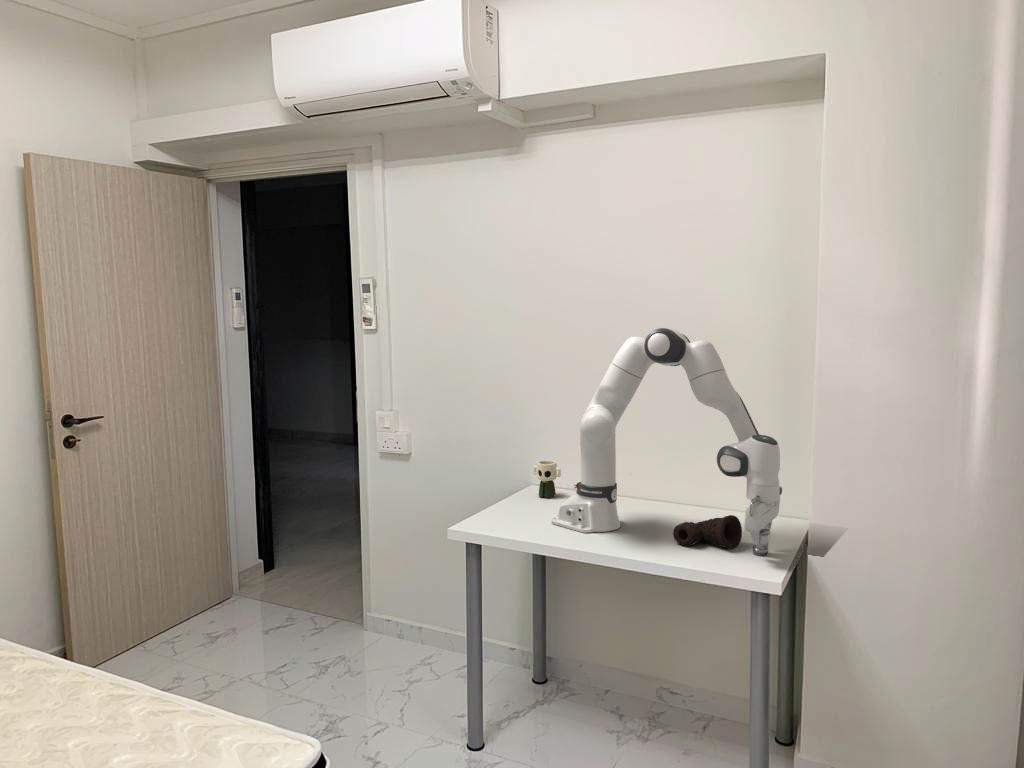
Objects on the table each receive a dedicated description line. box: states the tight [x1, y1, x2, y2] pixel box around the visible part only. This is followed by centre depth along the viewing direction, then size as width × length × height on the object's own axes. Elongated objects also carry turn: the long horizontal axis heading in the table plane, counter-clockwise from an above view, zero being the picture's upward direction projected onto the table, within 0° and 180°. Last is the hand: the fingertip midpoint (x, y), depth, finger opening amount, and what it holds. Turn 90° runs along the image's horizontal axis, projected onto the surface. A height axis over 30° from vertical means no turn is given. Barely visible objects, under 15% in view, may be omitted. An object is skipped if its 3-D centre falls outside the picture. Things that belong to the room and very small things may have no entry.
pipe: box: [672, 514, 743, 550], centre depth 232 cm, size 10×15×15 cm
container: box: [752, 528, 770, 557], centre depth 222 cm, size 4×4×7 cm
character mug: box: [533, 459, 562, 498], centre depth 286 cm, size 11×7×13 cm, turn 63°
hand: (761, 539), depth 222 cm, fingers open, 8 cm apart
